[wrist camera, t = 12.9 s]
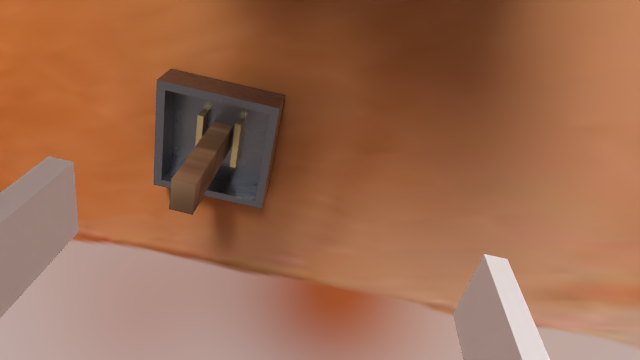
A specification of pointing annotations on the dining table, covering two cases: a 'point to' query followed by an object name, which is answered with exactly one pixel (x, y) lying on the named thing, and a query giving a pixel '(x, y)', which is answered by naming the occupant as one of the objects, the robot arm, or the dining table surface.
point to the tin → (195, 119)
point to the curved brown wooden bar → (200, 168)
